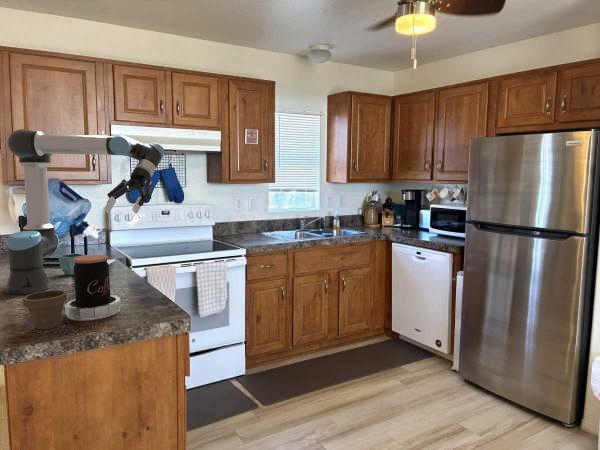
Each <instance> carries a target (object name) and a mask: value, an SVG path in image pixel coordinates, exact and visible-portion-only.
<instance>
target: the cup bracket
mask: <svg viewBox="0 0 600 450" xmlns="http://www.w3.org/2000/svg"><path fill="white" fill-rule="evenodd" d="M110 295H111V294H110ZM121 301H122V300H121V297H120V296H118V295H111V303H109V304H107V305H102V306H96V307H85V308H80V307H76V298H75V299H70V300H69V301H68V302H65V303H64V309H65V316H66V318H67V319H68V320H69V321H75V322H76V321H77V322H79V321H80V322H89V321H94V320H95V321H97V320H102V319H106V318H109V317H113V316H115V315H118V314H119V313H120V312H121V308H122V304H121V303H122V302H121Z"/></svg>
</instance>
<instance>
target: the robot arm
mask: <svg viewBox="0 0 600 450" xmlns="http://www.w3.org/2000/svg"><path fill="white" fill-rule="evenodd" d="M7 147H8V150H9V151H10V152H11V153H12V154H13V155H14V156H16V157H18V161H19V162H18V164H19V165H20V166H22V167H23V177H24V178H23V179H24V190H25V191H24V192H25V205H26V206H25V207H26V223H27V224H26V225H25V226H24V227H23V231H22V230H21V231H19V232H14V233H11V234H10V235H8V237H7V244H6V245H7V251H8V263H9V275H8V279H7V284H6V286H5V289H6V294H8V295H29V294H33V293H37V292H42V291H47V290H49V289H50V287H51V286H50V281H49V279H48V277H47V274H46V273H45V270H44V262H43V261H44V260H43V259H45V258H49V257H51V256H52V255H53V254H54V253H56V251H58V249H59V246H60V238H59V236H58V235H57V234H56V232H55V230H56V229H55V225H53V224H52V223H51V213H50V199H49V197H50V195H49V183H48V182H49V181H48V167H49V166H50V165H51V163H52V162H51V160H52V159H51V156H52V155H53V154H54V155H55V154H59V155H67V154H68V155H95V156H96V155H98V156H99V155H103V156H105V155H106V156H107V155H109V156H126V157H129V158H131V159H135V160H137V161H138V162H137V164H136V165H135V166H134V169H133V170H132V171H131V172H130V173H131V174H130V178H129V179H128V180H126V179H125V178H124V179H122V180H121V181H120V182H119V184H117V185H116V186H115V187H114V188H113V189H112V190H110V191H109V192H108V193H107V194H106V195H107V197H108V200H107V202H106V204H105V206H104V208H103V210H104V211H105V212H106V213H107V214H110V212H111V211H112V209H113V207H114V206H115V205H116V202H117V199H119V198H120V197H122V196H124V195H126V194H127V193H130V192H131V191H132V192H133V191H139V194H140V196H138V198H137V200H136V201H135V202H134V205H133V207H132V208H131V210H132V212H133V213H134V214H135V215H136V214H138V212H140V211H139V210H140V209H141V207H142V206H144V204H145V202H146V201H147V200H149V201H150V200H152V186H153V185H154V183H153V181H151V178H152V177H153V176H154V173H155V171H156V170H157V168H158V166H159V164H160V163H161V161H162V160H163V157H164V155H165V149H164V147H163V146H162V145H161V144H160V143H158V142H150V143H149V144H144V143H142V142H140V141H138V140H135V139H133V138H130V137H129V136H126V135H123V134H121V135H115V136H114V135H113V136H112V135H92V134H91V135H87V134H86V135H84V134H82V135H81V134H52V133H50V134H49V133H43V132H42V131H38V130H30V129H24V128H21V129H16V130H14V131H12V132H11V133H10V134H9V136H8V138H7ZM144 187H145V190H144Z"/></svg>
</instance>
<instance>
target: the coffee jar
mask: <svg viewBox="0 0 600 450" xmlns="http://www.w3.org/2000/svg"><path fill="white" fill-rule="evenodd" d="M108 260H109V255H105V254H89V255H86V256H81V257H76V258H74V259H73V262H74V263H75V265H74V275H73V280H74V294H75V295H74V296H75V297H74V298H75V299H76V307H80V308H85V307H96V306H102V305H107V304H109V303H111V283H110V282H111V281H110V280H111V279H110V265H109V262H108Z"/></svg>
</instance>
